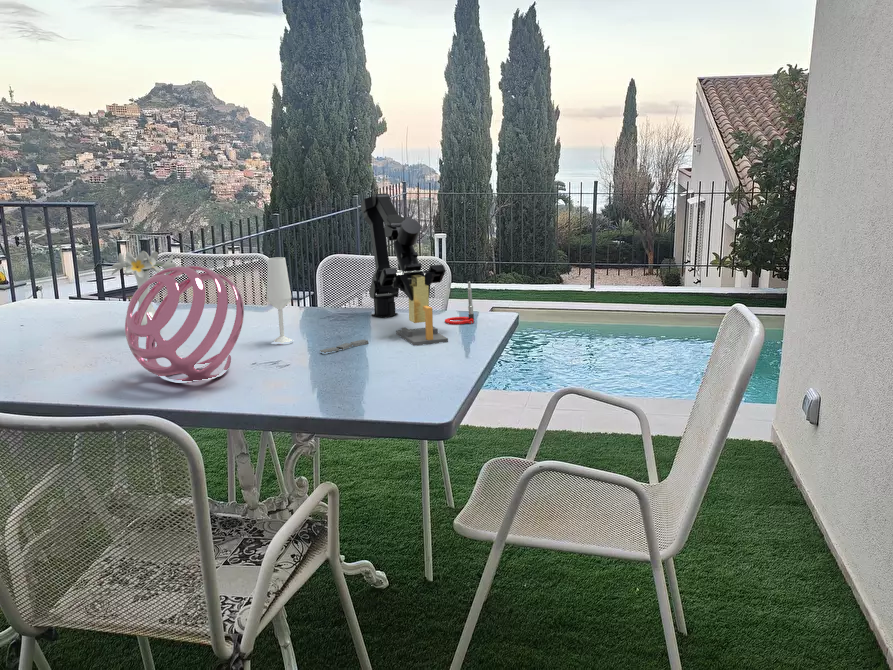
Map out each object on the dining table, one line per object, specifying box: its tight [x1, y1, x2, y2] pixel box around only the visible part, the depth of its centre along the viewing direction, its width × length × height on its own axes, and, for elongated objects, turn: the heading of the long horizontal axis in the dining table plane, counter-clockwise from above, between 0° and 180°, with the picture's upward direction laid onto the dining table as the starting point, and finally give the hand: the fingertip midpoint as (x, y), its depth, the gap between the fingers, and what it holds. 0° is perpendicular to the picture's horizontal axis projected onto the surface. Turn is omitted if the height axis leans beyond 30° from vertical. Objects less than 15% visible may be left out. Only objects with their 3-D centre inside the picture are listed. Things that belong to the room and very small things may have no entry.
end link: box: [408, 275, 430, 324], centre depth 206 cm, size 4×4×13 cm
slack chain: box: [319, 338, 369, 353], centre depth 196 cm, size 4×16×1 cm, turn 144°
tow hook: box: [444, 281, 475, 325], centre depth 226 cm, size 8×13×9 cm
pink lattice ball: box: [124, 265, 245, 381], centre depth 169 cm, size 28×28×27 cm
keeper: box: [395, 305, 449, 346], centre depth 206 cm, size 16×10×10 cm, turn 22°
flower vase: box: [111, 250, 177, 325], centre depth 218 cm, size 13×18×25 cm
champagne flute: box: [266, 256, 293, 343], centre depth 202 cm, size 7×7×24 cm
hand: (420, 299), depth 205 cm, fingers closed on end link, 4 cm apart
